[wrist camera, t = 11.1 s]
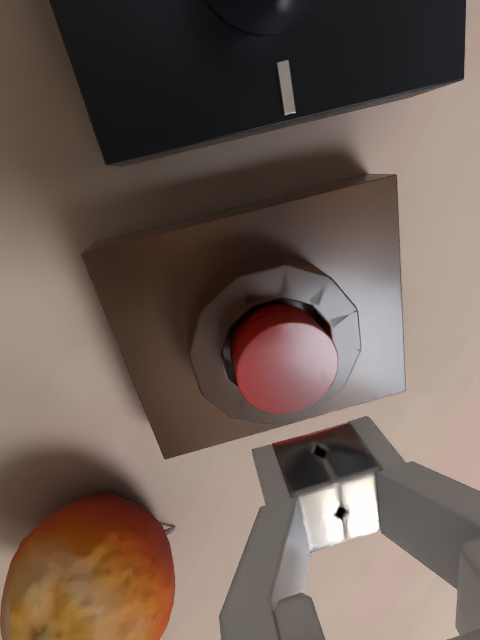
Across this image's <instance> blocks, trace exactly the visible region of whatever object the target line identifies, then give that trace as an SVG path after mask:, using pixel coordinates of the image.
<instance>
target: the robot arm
mask: <svg viewBox="0 0 480 640" xmlns="http://www.w3.org/2000/svg"><path fill="white" fill-rule="evenodd" d="M252 455H253V459H254V462H255V466H256V470H257V474H258V478H259V481H260V485H261V489H262V493H263V497H264V500H265V504H266V505H265V506H262V507H260V509H259V511H258V514H257V517H256V519H255V522H254V525H253V527H252V530H251V533H250V535H249V538H248V541H247V543H246V546H245V549H244V551H243V554H242V557H241V559H240V562H239V565H238V567H237V570H236V573H235V575H234V578H233V581H232V583H231V586H230V589H229V591H228V594H227V597H226V599H225V602H224V605H223V607H222V610H221V613H220V615H219V620H220V631H221V640H325V637H324V634H323V631H322V628H321V625H320V622H319V619H318V616H317V613H316V610H315V607H314V604H313V601H312V598H311V597H309V596H307V595H305V594H304V593H305V587H306V581H307V575H308V568H309V562H310V556H311V555H310V553H311V552H314V551H317V550H320V549H323V548H326V547H328V546H331V545H334V544H337V543H340V542H343V541H346V540H350V539H353V538H357V537H360V536H364V535H367V534H371V533H375V532H378V531H381V533H382V534H384V535H385V536H386V537H388V538H389V539H390V540H392V541H393V542H394V543H396V544H397V545H398V546H400V547H401V548H402V549H404V550H405V551H406V552H408V553H409V554H410V555H412V556H413V557H414V558H416V559H417V560H418V561H420V562H421V563H422V564H424V565H425V566H427V567H428V568H429V569H431V570H432V571H433V572H435V573H436V574H437V575H439V576H440V577H441V578H443V579H444V580H445V581H447V582H448V583H449V584H451V585H452V586H453V587H455V588H456V589H457V590H458V592H457V609H456V626H455V627H456V629H457V631H458V632H459V634H460V635H459V636H456V637H453V638H450V639H447V640H480V491H478V490H476V489H474V488H471V487H469V486H467V485H465V484H462V483H460V482H458V481H456V480H453V479H451V478H449V477H447V476H444V475H442V474H440V473H438V472H435V471H433V470H431V469H429V468H426V467H424V466H422V465H420V464H417V463H415V462H413V461H412V462H408V463H406V462H405V461H404V460H403V458H402V457H401V456H400V455H399V453H398V452H397V451H396V450H395V448H394V447H393V446H392V445H391V443H390V442H389V441H388V440H387V438H386V437H385V436H384V435H383V433H382V432H381V431H380V430H379V428H378V427H377V426H376V425H375V423H374V422H373V421H372V420H371V418H369V417H367V416H365V417H362V418H359V419H355V420H352V421H349V422H347V423H343V424H340V425H336V426H333V427H330V428H326V429H323V430H320V431H316V432H313V433H310V434H307V435H303V436H299V437H295V438H291V439H288V440H284V441H280V442H276V443H272V445H267V446H263V447H259V448H255V449H252Z"/></svg>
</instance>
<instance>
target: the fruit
mask: <svg viewBox="0 0 480 640" xmlns="http://www.w3.org/2000/svg"><path fill="white" fill-rule="evenodd" d="M174 528H175V526H172V527H171V528H169V529H166V530H164V529H163V526H162V525H161V524H160V523H159V522H158V520H157V519H156V518H155V517H154V516H153V515H152V514H151V513H150V512H149V511H148V510H147V509H146V508H144V507H142V506H140V505H139V504H136V503H134V502H131V501H128V500H126V499H124V498H122V497H120V496H118V495H116V494H114V493H111V492H99V493H94V494H90V495H86V496H84V497H81V498H79V499H77V500H75V501H74V502H72V503H70V504H68V505H67V506H65V507H63V508H62V509H60V510H58V511H56V512H55V513H53V514H52V515H50V516H49V517H48V518H46V519H45V520H44V521H42V522H41V523H40V524H39V525H38V526H37V527H36V528H35V529H34V530H33V531H32V532H31V533H30V534H29V535H28V536H27V537H26V538H25V539H24V540H23V541H22V542H21V543H20V545H19V548H18V550H17V551H16V553H15V555H14V556H13V558H12V561H11V563H10V566H9V570H8V574H7V578H6V582H5V585H4V590H3V596H2V603H1V616H0V627H1V635H2V639H3V640H160V638H161V636H162V635H163V633H164V631H165V629H166V627H167V624H168V622H169V618H170V614H171V610H172V607H173V603H174V594H175V574H174V564H173V558H172V553H171V548H170V543H169V540H168V538H167V536H166V535H168V534H170V533H171V532H173V531H174V530H175V529H174Z"/></svg>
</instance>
